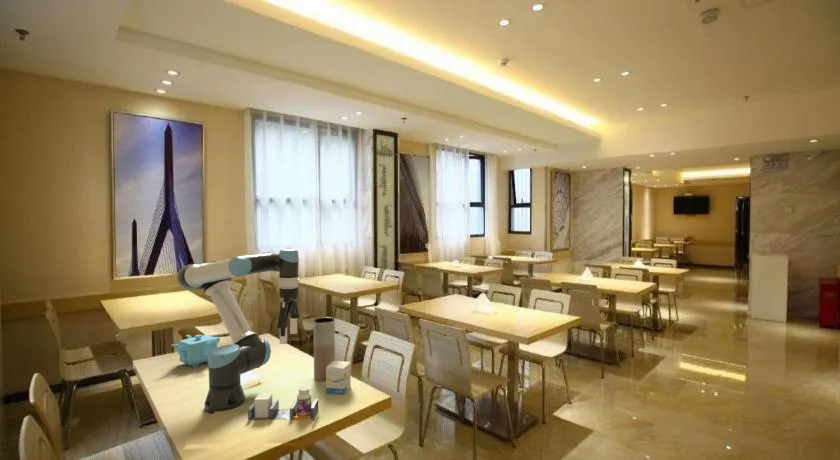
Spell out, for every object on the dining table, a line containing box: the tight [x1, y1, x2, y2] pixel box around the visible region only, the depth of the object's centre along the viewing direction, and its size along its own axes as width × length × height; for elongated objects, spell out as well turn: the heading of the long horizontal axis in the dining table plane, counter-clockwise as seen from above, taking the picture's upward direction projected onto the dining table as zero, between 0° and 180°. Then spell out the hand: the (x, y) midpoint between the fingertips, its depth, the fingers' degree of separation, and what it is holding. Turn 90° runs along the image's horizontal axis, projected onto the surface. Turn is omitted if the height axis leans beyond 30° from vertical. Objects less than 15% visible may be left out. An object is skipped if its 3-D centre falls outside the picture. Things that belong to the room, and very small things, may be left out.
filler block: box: [254, 393, 273, 418], centre depth 161 cm, size 5×5×7 cm
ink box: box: [325, 360, 352, 395], centre depth 186 cm, size 9×8×12 cm
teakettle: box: [171, 334, 221, 368], centre depth 221 cm, size 19×19×15 cm
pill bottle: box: [296, 386, 312, 416], centre depth 162 cm, size 5×5×10 cm
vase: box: [312, 316, 336, 382], centre depth 200 cm, size 10×10×28 cm
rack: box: [247, 398, 319, 422], centre depth 162 cm, size 24×8×5 cm, turn 92°
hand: (288, 338), depth 173 cm, fingers open, 13 cm apart
